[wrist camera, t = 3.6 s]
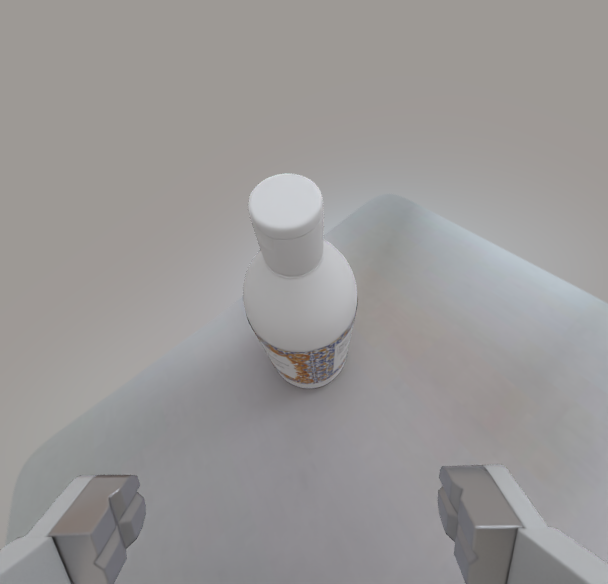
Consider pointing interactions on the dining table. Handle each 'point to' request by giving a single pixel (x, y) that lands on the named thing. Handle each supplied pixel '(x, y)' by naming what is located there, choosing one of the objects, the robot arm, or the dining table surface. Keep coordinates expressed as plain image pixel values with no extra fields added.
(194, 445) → the dining table surface
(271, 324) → the bath foam
